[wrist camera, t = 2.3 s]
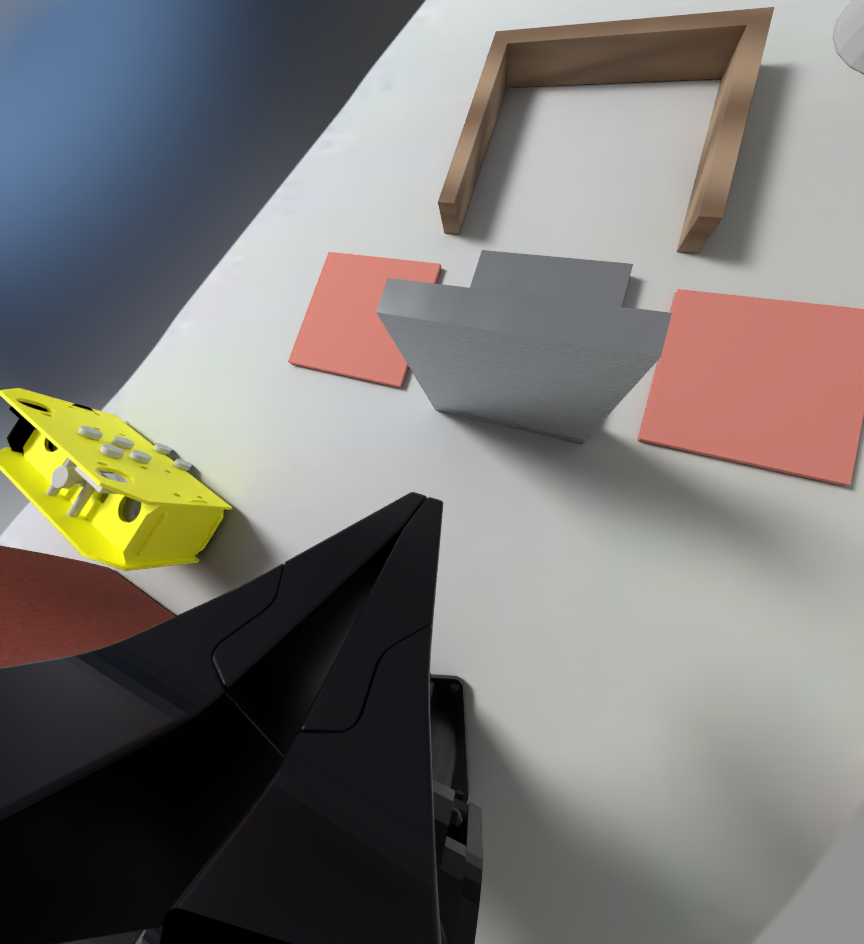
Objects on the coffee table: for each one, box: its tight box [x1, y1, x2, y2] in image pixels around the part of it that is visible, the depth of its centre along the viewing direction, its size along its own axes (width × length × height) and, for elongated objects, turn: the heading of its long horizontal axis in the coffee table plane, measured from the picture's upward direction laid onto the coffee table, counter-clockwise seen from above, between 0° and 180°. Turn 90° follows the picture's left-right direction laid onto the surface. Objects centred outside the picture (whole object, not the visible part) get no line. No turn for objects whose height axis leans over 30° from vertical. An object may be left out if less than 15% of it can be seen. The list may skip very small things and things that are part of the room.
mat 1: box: [288, 252, 441, 388], centre depth 26 cm, size 10×10×1 cm
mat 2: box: [638, 289, 864, 486], centre depth 19 cm, size 10×10×1 cm
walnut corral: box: [438, 7, 774, 253], centre depth 23 cm, size 15×17×2 cm
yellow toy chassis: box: [0, 388, 232, 571], centre depth 24 cm, size 16×6×8 cm, turn 58°
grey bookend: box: [376, 250, 672, 444], centre depth 17 cm, size 12×10×11 cm
